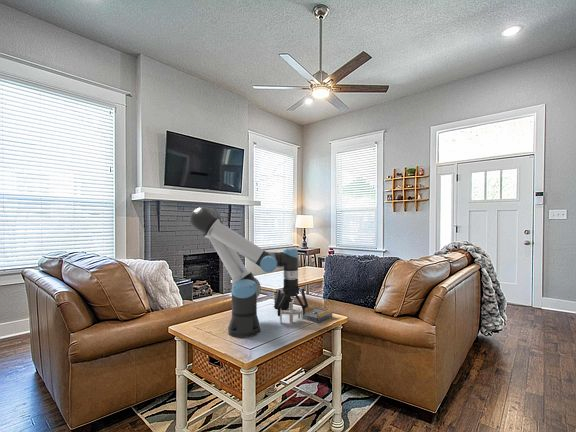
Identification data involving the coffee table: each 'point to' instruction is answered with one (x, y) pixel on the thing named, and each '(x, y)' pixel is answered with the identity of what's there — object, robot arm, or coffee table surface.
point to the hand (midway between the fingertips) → (291, 321)
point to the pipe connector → (291, 312)
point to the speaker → (286, 303)
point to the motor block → (316, 314)
